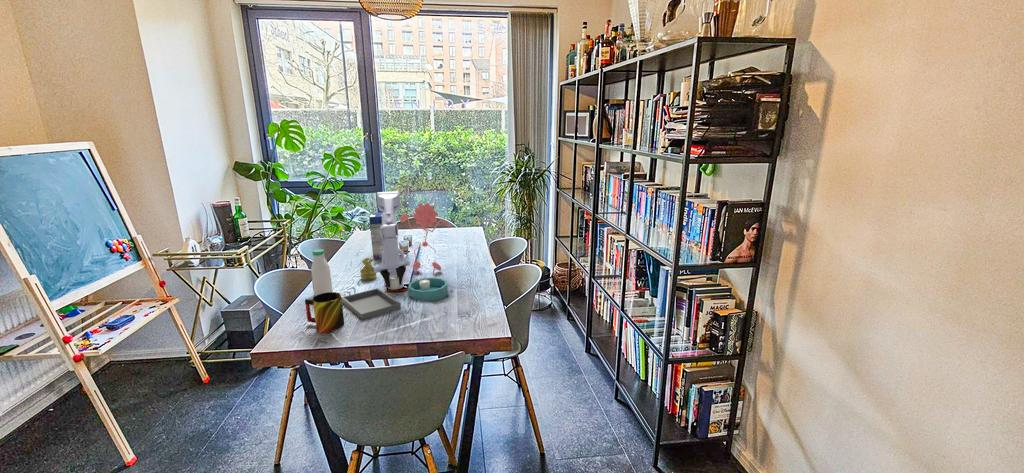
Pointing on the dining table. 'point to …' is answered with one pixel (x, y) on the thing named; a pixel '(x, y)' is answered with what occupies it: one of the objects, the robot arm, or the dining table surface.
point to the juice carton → (376, 234)
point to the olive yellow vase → (367, 270)
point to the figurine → (424, 217)
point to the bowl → (436, 290)
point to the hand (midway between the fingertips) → (393, 285)
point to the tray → (370, 303)
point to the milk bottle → (320, 273)
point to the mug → (326, 312)
